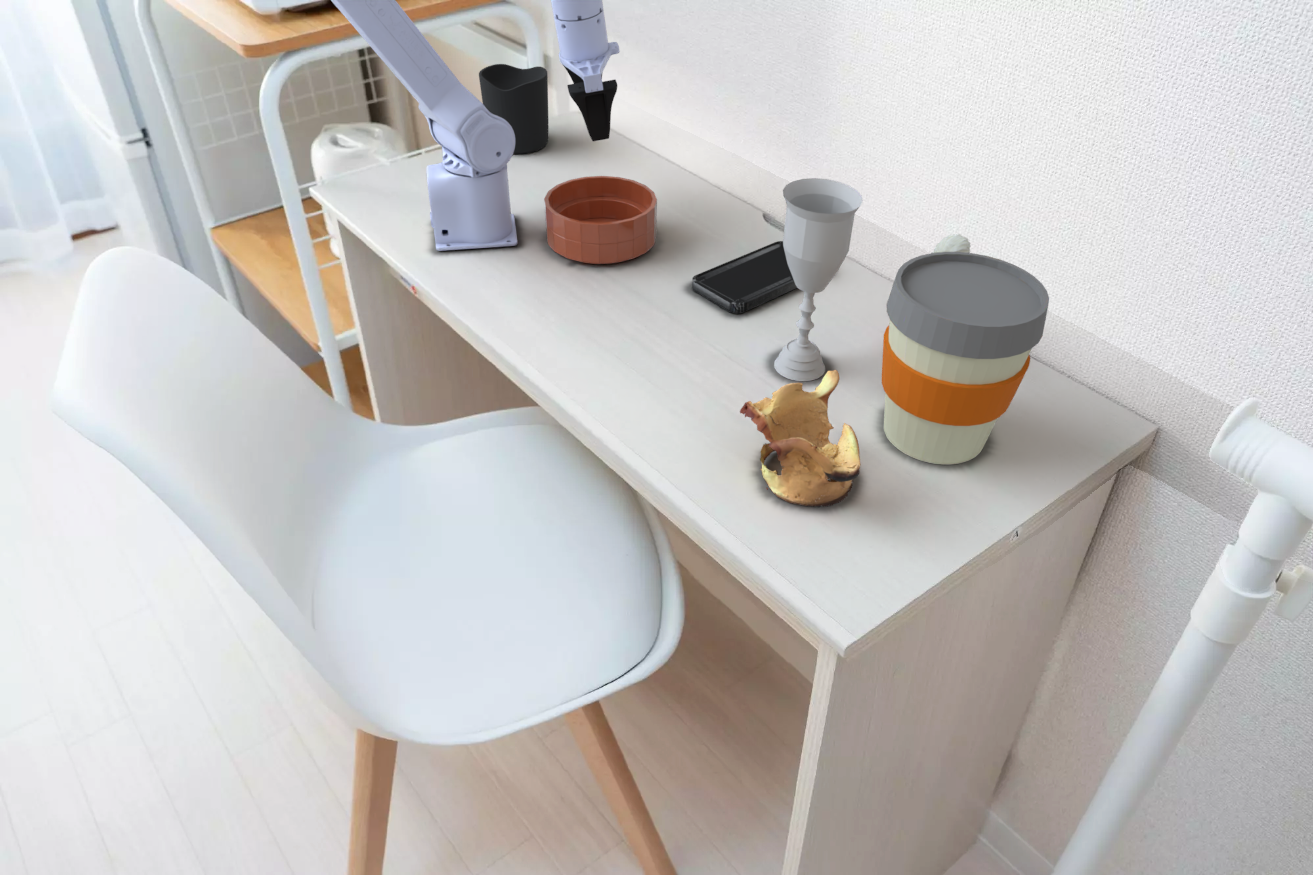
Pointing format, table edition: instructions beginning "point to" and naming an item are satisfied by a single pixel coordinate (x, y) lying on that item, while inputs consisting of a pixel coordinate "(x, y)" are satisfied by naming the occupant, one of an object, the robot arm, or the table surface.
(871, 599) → the table surface
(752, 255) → the phone
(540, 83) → the pen holder
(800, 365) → the chalice
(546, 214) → the bowl
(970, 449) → the reusable coffee cup
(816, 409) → the yellow irregular figure
